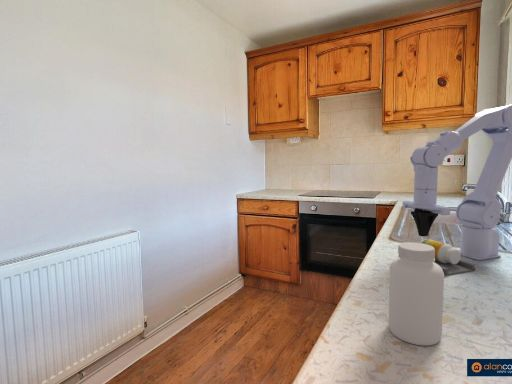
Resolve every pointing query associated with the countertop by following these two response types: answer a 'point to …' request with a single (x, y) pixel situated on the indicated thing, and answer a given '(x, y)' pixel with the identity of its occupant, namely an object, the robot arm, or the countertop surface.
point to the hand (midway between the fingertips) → (423, 235)
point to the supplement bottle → (443, 252)
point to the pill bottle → (416, 295)
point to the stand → (456, 267)
